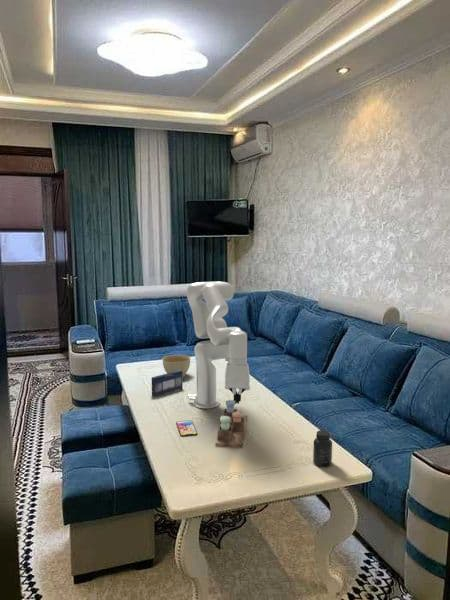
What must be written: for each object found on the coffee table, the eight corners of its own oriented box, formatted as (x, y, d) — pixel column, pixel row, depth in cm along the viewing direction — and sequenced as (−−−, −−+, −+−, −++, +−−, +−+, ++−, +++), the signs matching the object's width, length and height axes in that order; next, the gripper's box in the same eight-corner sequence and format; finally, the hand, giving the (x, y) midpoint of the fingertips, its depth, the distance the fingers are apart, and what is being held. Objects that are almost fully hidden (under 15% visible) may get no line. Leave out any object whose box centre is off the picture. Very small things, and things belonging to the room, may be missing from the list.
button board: (215, 445, 191) (215, 433, 191) (224, 417, 220) (224, 406, 219) (241, 447, 190) (241, 435, 189) (247, 418, 219) (247, 407, 218)
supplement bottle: (310, 459, 181) (311, 429, 179) (328, 458, 182) (329, 428, 180) (315, 468, 174) (316, 437, 173) (334, 467, 175) (335, 436, 173)
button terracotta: (231, 429, 203) (231, 415, 202) (232, 425, 207) (232, 411, 206) (241, 429, 202) (241, 415, 201) (242, 425, 206) (242, 412, 205)
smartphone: (191, 420, 215) (198, 433, 201) (192, 422, 216) (198, 435, 201) (175, 421, 214) (180, 435, 199) (175, 423, 214) (180, 437, 199)
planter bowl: (196, 375, 280) (196, 357, 278) (179, 382, 267) (178, 363, 265) (174, 370, 288) (174, 353, 287) (156, 377, 275) (156, 359, 273)
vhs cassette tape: (154, 397, 245) (153, 378, 243) (151, 395, 247) (150, 377, 245) (183, 389, 257) (183, 371, 255) (180, 387, 259) (179, 369, 257)
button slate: (224, 416, 212) (225, 403, 211) (226, 413, 216) (226, 399, 215) (234, 417, 211) (234, 403, 210) (235, 413, 215) (235, 400, 214)
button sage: (219, 434, 194) (219, 419, 193) (220, 430, 198) (220, 415, 197) (229, 434, 194) (229, 420, 193) (230, 430, 198) (231, 416, 197)
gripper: (218, 362, 197) (218, 405, 200) (255, 364, 195) (254, 407, 198) (221, 357, 204) (220, 398, 207) (256, 358, 203) (255, 400, 206)
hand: (237, 402), depth 203 cm, fingers closed
